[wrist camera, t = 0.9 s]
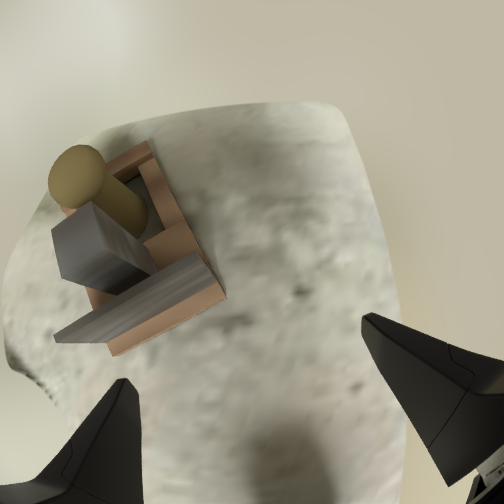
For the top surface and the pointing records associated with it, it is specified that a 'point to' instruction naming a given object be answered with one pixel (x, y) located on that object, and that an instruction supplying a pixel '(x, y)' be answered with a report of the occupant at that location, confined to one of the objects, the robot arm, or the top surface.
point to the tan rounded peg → (95, 188)
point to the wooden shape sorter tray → (133, 266)
